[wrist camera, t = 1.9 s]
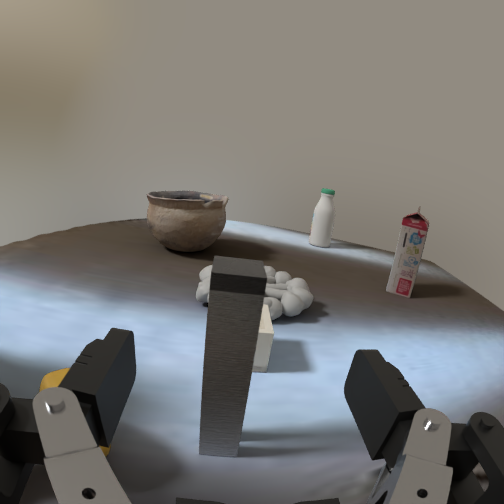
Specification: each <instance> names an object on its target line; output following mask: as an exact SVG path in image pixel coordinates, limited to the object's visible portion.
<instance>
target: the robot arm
mask: <svg viewBox="0 0 504 504" xmlns="http://www.w3.org/2000/svg"><path fill="white" fill-rule="evenodd" d="M135 376H136V359H135V345H134V334H133V332H132V331H129V330H123V329H117V328H111V329H110V331H109V332H108V334H107V335H106V337H105V338H104V340H101V339H96V340H94V341H93V342H91V343H89V344H88V345H86V347H85V348H84V349H83V351H82V352H81V354H80V356H78V358H77V359H76V361H75V363H74V364H73V365H72V366H71V368H70V369H69V371H68V372H67V374H66V375H65V377H64V378H63V380H62V381H61V383H60V384H59V386H58V387H50V388H46V389H44V390H42V391H40V392H39V393H38V394H37V395H36V396H35V397H34V399H22V398H11V396H10V393H9V391H8V389H7V388H6V387H5V386H4V385H3V384H1V383H0V504H19V501H20V498H21V496H22V493H23V491H24V488H25V486H26V483H27V481H28V478H29V476H30V473H31V471H32V469H33V466H34V464H42V465H45V466H46V470H47V473H48V476H49V479H50V482H51V484H52V487H53V490H54V493H55V495H56V498H57V500H58V503H59V504H131V502H130V500H129V499H128V497H127V495H126V494H125V492H124V490H123V489H122V487H121V485H120V483H119V482H118V480H117V478H116V476H115V475H114V473H113V471H112V469H111V467H110V465H109V463H108V461H107V460H106V458H105V456H104V454H103V452H102V450H101V448H100V446H103V447H107V448H109V446H110V444H111V441H112V438H113V435H114V433H115V430H116V427H117V425H118V422H119V420H120V417H121V414H122V412H123V409H124V407H125V404H126V402H127V399H128V397H129V394H130V392H131V389H132V387H133V384H134V381H135ZM344 394H345V398H346V401H347V403H348V405H349V408H350V410H351V412H352V415H353V417H354V419H355V422H356V424H357V426H358V429H359V431H360V433H361V436H362V438H363V440H364V443H365V445H366V447H367V450H368V452H369V455H370V457H371V459H372V460H378V459H384V458H385V461H386V463H385V465H384V466H383V468H382V470H381V473H380V475H379V477H378V479H377V482H376V484H375V486H374V488H373V490H372V493H371V495H370V497H369V499H368V501H367V503H366V504H504V428H503V426H502V425H501V424H500V422H499V421H498V420H497V419H496V418H495V417H494V416H492V415H490V414H488V413H484V412H477V413H475V414H473V415H472V416H471V418H470V419H469V421H468V423H467V424H458V423H451V422H450V420H449V418H448V417H447V416H446V415H445V414H443V413H442V412H440V411H438V410H435V409H430V408H425V407H424V405H423V404H422V402H421V401H420V399H419V398H418V396H417V395H416V394H415V392H414V391H413V389H412V388H411V386H410V387H409V384H408V382H407V381H406V380H404V376H403V375H402V374H401V372H400V371H399V369H397V368H396V367H395V366H393V365H392V364H391V363H389V362H386V361H385V359H384V358H383V357H382V355H381V354H380V352H379V351H378V350H357V351H356V353H355V355H354V358H353V361H352V364H351V367H350V370H349V373H348V376H347V379H346V381H345V386H344ZM479 462H480V464H481V466H482V468H483V469H484V471H485V473H486V474H487V476H488V478H489V486H488V489H487V490H486V491H485V492H484V491H483V489H482V487H481V485H480V483H479V482H478V480H477V478H476V476H475V474H474V473H473V471H472V470H473V469H474V468H475V467H476V465H477V464H478V463H479ZM176 504H224V503H221V502H214V501H203V500H193V499H184V498H177V497H176ZM295 504H340V502H339V499H338V498H334V499H326V500H316V501H304V502H298V503H295Z"/></svg>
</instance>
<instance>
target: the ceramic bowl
mask: <svg viewBox="0 0 504 504" xmlns="http://www.w3.org/2000/svg"><path fill="white" fill-rule="evenodd" d="M147 198H148V200H149V207H148V211H147V224H148V226H149V229H150V230H151V232H152V234H153V236H154V237H155V238H156V239H157V240H158V241H159V242H160V243H161V244H162V245H164V246H165V247H167V248H170V249H172V250H177V251H183V252H195V251H201V250H204V249H206V248H207V247H209V246H210V245H211V244H213V243H214V242H215V241H216V240H217V238H218V237H219V236H220V235H221V232H222V230H223V229H224V226H225V223H226V212H225V206H226V204H227V202H228V198H227V197H225V196H220V195H213V194H208V193H201V192H196V191H161V192H151V193H148V194H147Z"/></svg>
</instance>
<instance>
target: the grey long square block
mask: <svg viewBox="0 0 504 504" xmlns="http://www.w3.org/2000/svg"><path fill="white" fill-rule="evenodd" d="M266 283H267V275H266V271H265V268H264V264H263V261H259V260H250V259H241V258H232V257H223V256H214V261H213V265H212V270H211V278H210V289H209V301H208V313H207V325H206V338H205V352H204V367H203V383H202V400H201V419H200V441H199V454H203V455H213V456H226V457H237V453H238V448H239V442H240V437H241V431H242V426H243V420H244V415H245V409H246V403H247V398H248V392H249V386H250V380H251V374H252V369H253V363H254V357H255V351H256V345H257V339H258V333H259V327H260V321H261V314H262V308H263V302H264V296H265V289H266Z"/></svg>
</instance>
